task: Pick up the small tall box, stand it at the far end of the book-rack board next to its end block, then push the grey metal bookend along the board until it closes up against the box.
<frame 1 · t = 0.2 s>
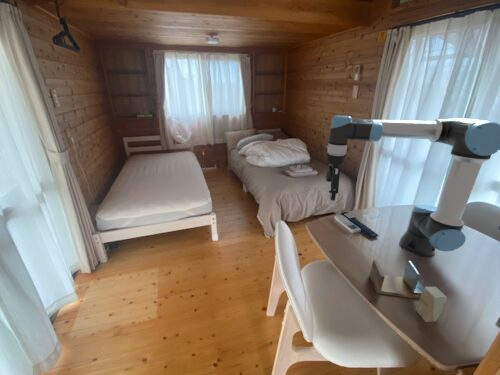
hand: (329, 200, 109), 28 cm above the table, fingers open, 13 cm apart
bookend: (418, 277, 94), point 6 cm above the table, slide at 0.0 cm
rack: (393, 286, 98), on the table
box: (426, 316, 85), on the table
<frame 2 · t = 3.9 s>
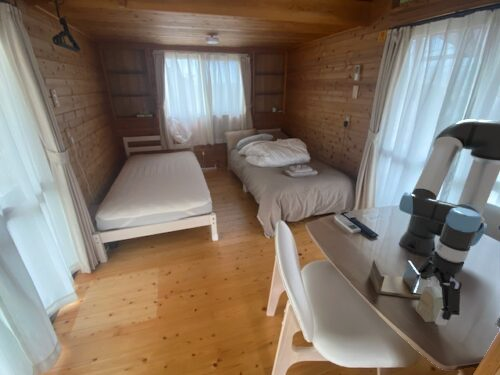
hand: (429, 307, 83), 4 cm above the table, fingers open, 12 cm apart
nothing on the table moved.
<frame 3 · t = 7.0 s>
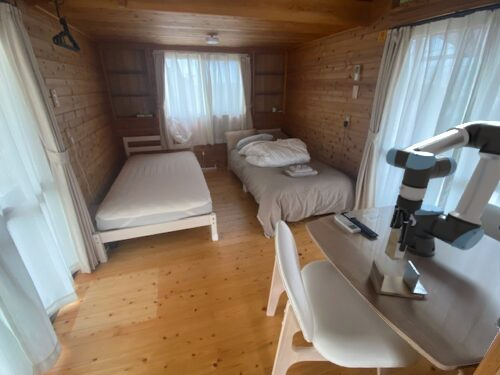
hand: (394, 251, 92), 16 cm above the table, fingers closed on box, 6 cm apart
box: (393, 257, 93), point 14 cm above the table, touching gripper
everything else where it was.
when the fingers open (4 cm above the table, at t = 9.5 s): box stays where it is, resting on rack.
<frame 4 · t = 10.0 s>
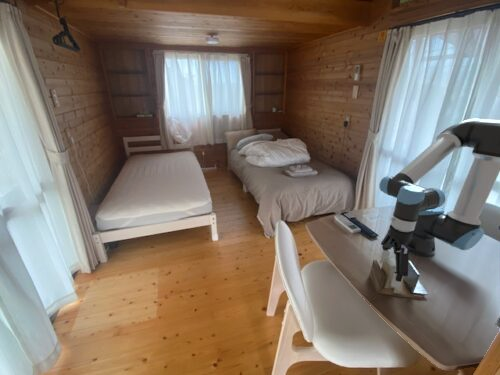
hand: (388, 273, 96), 6 cm above the table, fingers open, 13 cm apart
box: (386, 284, 97), point 1 cm above the table, touching rack
everything else where it was.
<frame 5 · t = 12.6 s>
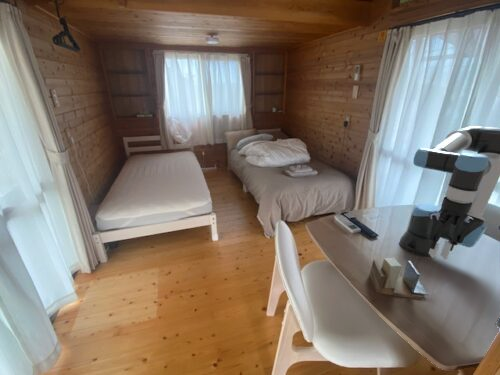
hand: (437, 256, 90), 17 cm above the table, fingers open, 3 cm apart
nothing on the table moved.
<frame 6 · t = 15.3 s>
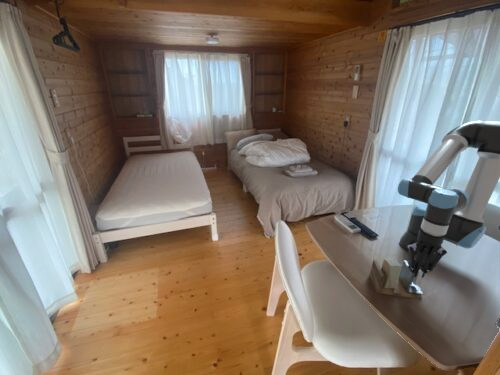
hand: (414, 282, 95), 3 cm above the table, fingers closed
bookend: (413, 276, 95), point 6 cm above the table, slide at 1.8 cm, touching gripper
everything else where it was.
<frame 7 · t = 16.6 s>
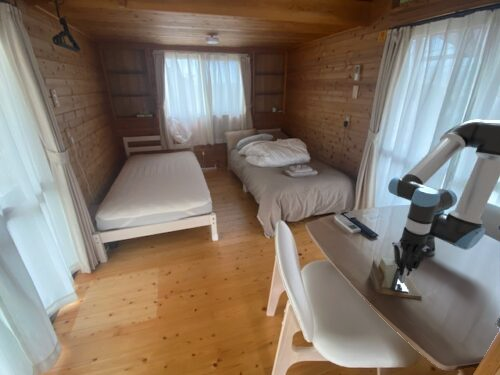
hand: (401, 280, 96), 3 cm above the table, fingers closed
bookend: (399, 275, 95), point 6 cm above the table, slide at 6.8 cm, touching box, gripper
box: (383, 283, 98), point 1 cm above the table, touching bookend, rack
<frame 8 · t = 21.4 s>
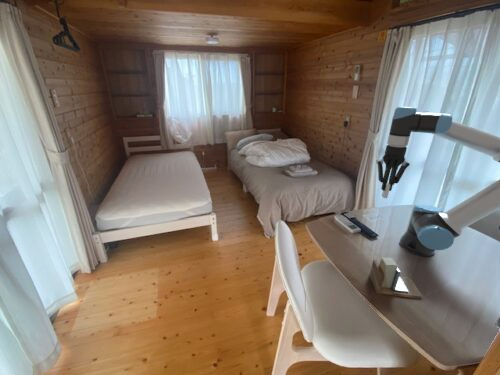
hand: (384, 196, 109), 29 cm above the table, fingers closed
bookend: (399, 275, 95), point 6 cm above the table, slide at 6.8 cm, touching box
everything else where it was.
at the end: box 0.9 cm from the target spot on the rack, point 1.0 cm above the rack's base; box tilted 0°; bookend slide at 6.8 cm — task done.
